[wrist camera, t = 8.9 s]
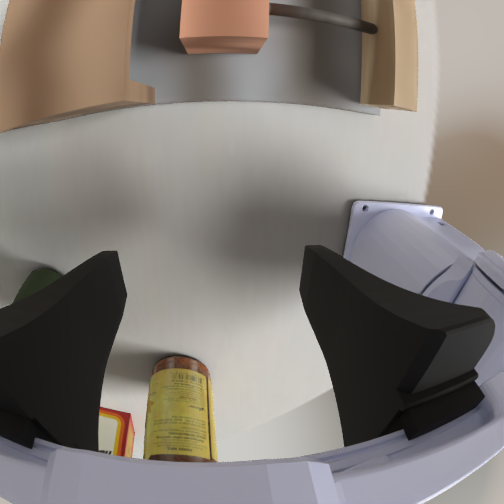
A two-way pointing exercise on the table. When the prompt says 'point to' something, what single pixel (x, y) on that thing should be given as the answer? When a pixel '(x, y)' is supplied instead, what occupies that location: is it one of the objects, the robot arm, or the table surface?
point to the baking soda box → (115, 433)
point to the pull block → (371, 24)
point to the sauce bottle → (180, 413)
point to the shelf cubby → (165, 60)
